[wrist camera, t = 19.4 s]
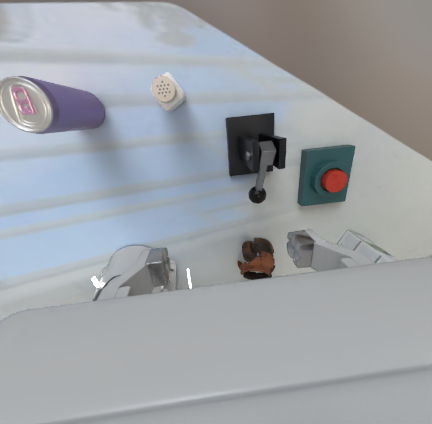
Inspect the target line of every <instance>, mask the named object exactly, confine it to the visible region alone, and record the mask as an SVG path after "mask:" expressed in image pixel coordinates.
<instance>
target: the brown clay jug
mask: <svg viewBox="0 0 432 424" xmlns="http://www.w3.org/2000/svg"><path fill="white" fill-rule="evenodd" d="M254 240H255V243H254V242H251V241H246V242H244V243H243V245H242V253H243V257H244V259H245V261H247V262H249V263H246V262H244V263H243V264H242V263H241V262H240V261H238V266H239V269H240V270H241V272H240V273H241V274H242V275H243V274H244V275H243V277H244V278H247V279H250V280H256V279H263V278H271V277H272V275H271V273H272V271H273V270H274V268H275V265H274V258H273V253H274V249H273V247H272V244H271V243H270V242H269V241H267V240H265V239H262V238H255V239H254ZM257 252H259V255H260V256H257V254H256V253H257ZM273 265H274V266H273ZM250 271H260V272H264V273H256V272H250Z"/></svg>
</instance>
